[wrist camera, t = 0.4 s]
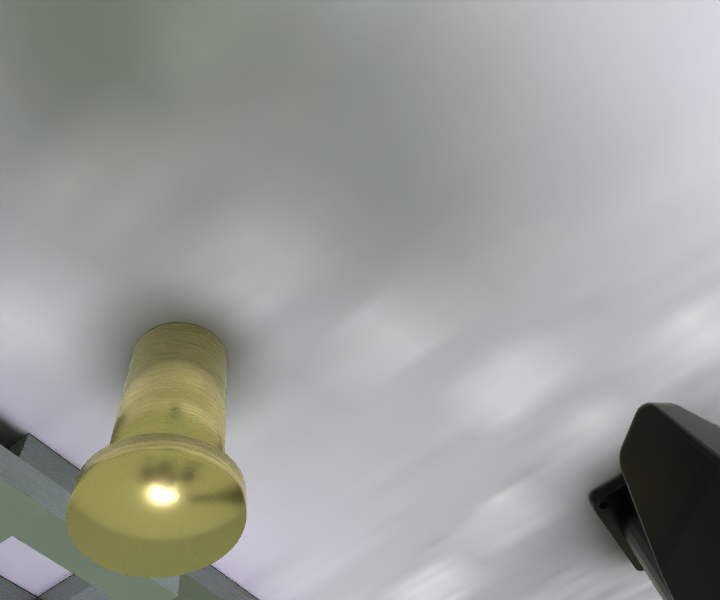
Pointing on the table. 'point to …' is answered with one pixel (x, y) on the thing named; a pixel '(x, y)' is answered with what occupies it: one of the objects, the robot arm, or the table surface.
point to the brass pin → (163, 464)
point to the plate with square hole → (51, 538)
